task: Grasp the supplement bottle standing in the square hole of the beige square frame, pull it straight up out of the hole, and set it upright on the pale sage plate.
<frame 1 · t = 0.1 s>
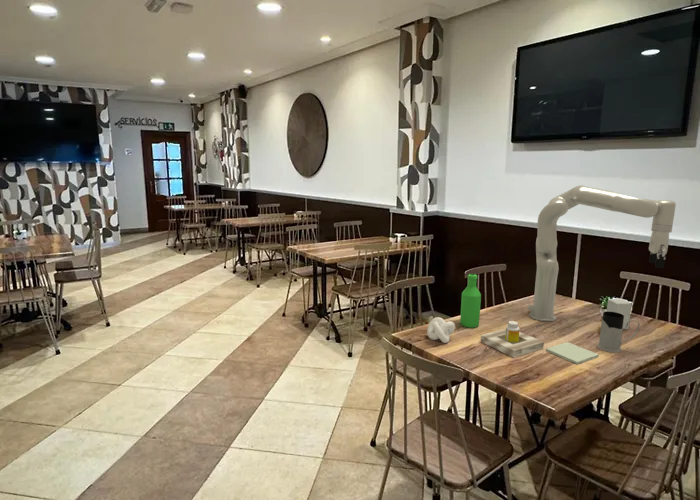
hand: (656, 265, 200), 31 cm above the table, tool pointing down, fingers open, 9 cm apart
bottle: (469, 325, 211), on the table
supplement box: (616, 326, 210), on the table
beige square frame: (511, 345, 188), on the table
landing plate: (571, 353, 180), on the table
supplement bottle: (511, 345, 188), resting in beige square frame
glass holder: (616, 349, 185), on the table
white decorative knot: (438, 339, 194), on the table
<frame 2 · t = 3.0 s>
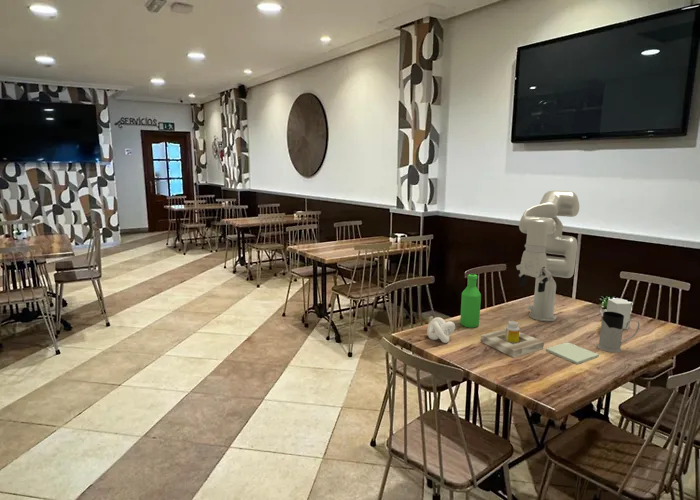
hand: (531, 288, 185), 25 cm above the table, tool pointing down, fingers open, 9 cm apart
nothing on the table moved.
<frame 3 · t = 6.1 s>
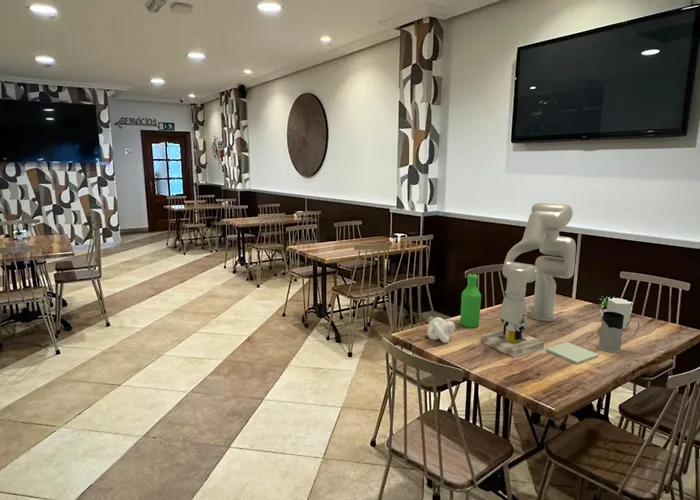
hand: (512, 336, 187), 4 cm above the table, tool pointing down, fingers closed on supplement bottle, 5 cm apart
supplement bottle: (511, 345, 188), resting in beige square frame, touching gripper
everything else where it was.
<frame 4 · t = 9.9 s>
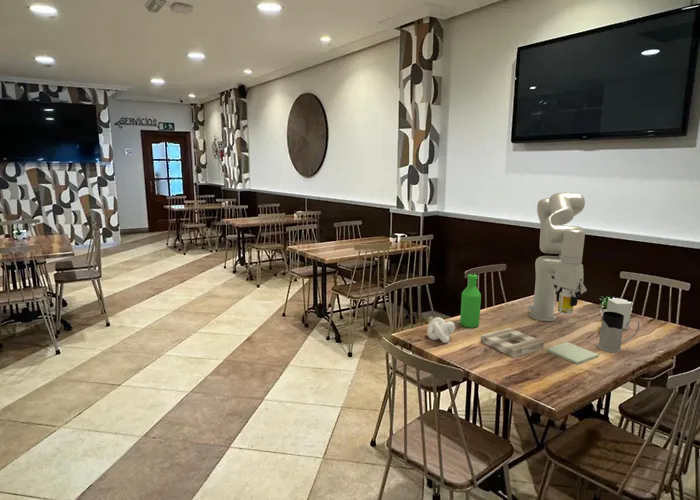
hand: (566, 302, 177), 21 cm above the table, tool pointing down, fingers closed on supplement bottle, 5 cm apart
supplement bottle: (565, 312, 178), point 17 cm above the table, touching gripper
everything else where it was.
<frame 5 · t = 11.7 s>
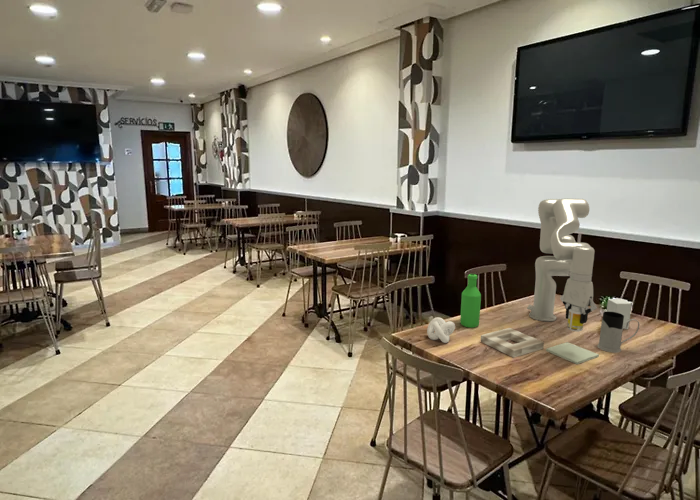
hand: (575, 320, 177), 15 cm above the table, tool pointing down, fingers closed on supplement bottle, 5 cm apart
supplement bottle: (574, 330, 178), point 10 cm above the table, touching gripper
everything else where it was.
when the fingers open (6 cm above the table, at t = 13.6 s): supplement bottle drops 1 cm, resting on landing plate.
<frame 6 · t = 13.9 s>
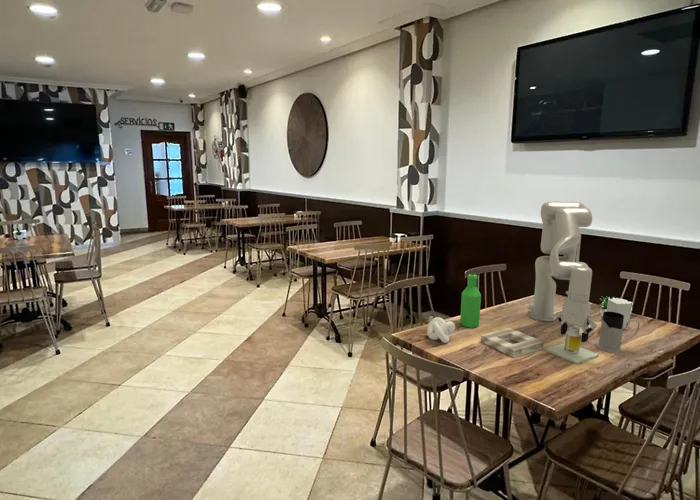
hand: (573, 337, 179), 7 cm above the table, tool pointing down, fingers open, 8 cm apart
supplement bottle: (571, 351, 180), point 1 cm above the table, touching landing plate
everything else where it was.
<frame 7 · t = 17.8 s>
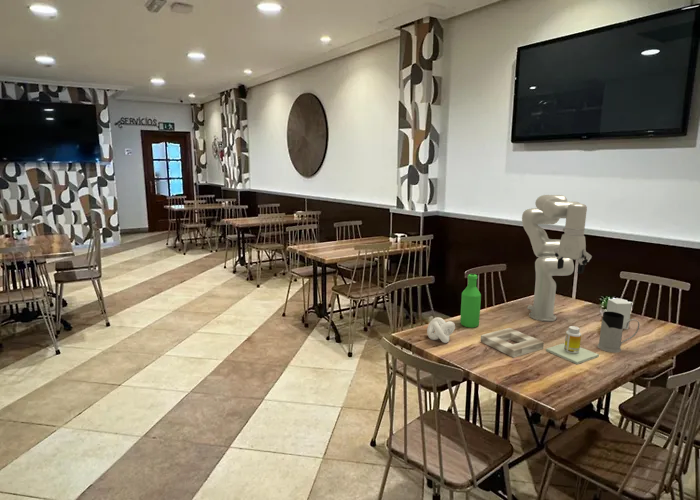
hand: (570, 270, 192), 30 cm above the table, tool pointing down, fingers open, 9 cm apart
nothing on the table moved.
at the end: supplement bottle inside the target area on the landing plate (0.3 cm from its centre), point 0.8 cm above the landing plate's base; supplement bottle tilted 0°; the gripper is holding nothing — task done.
